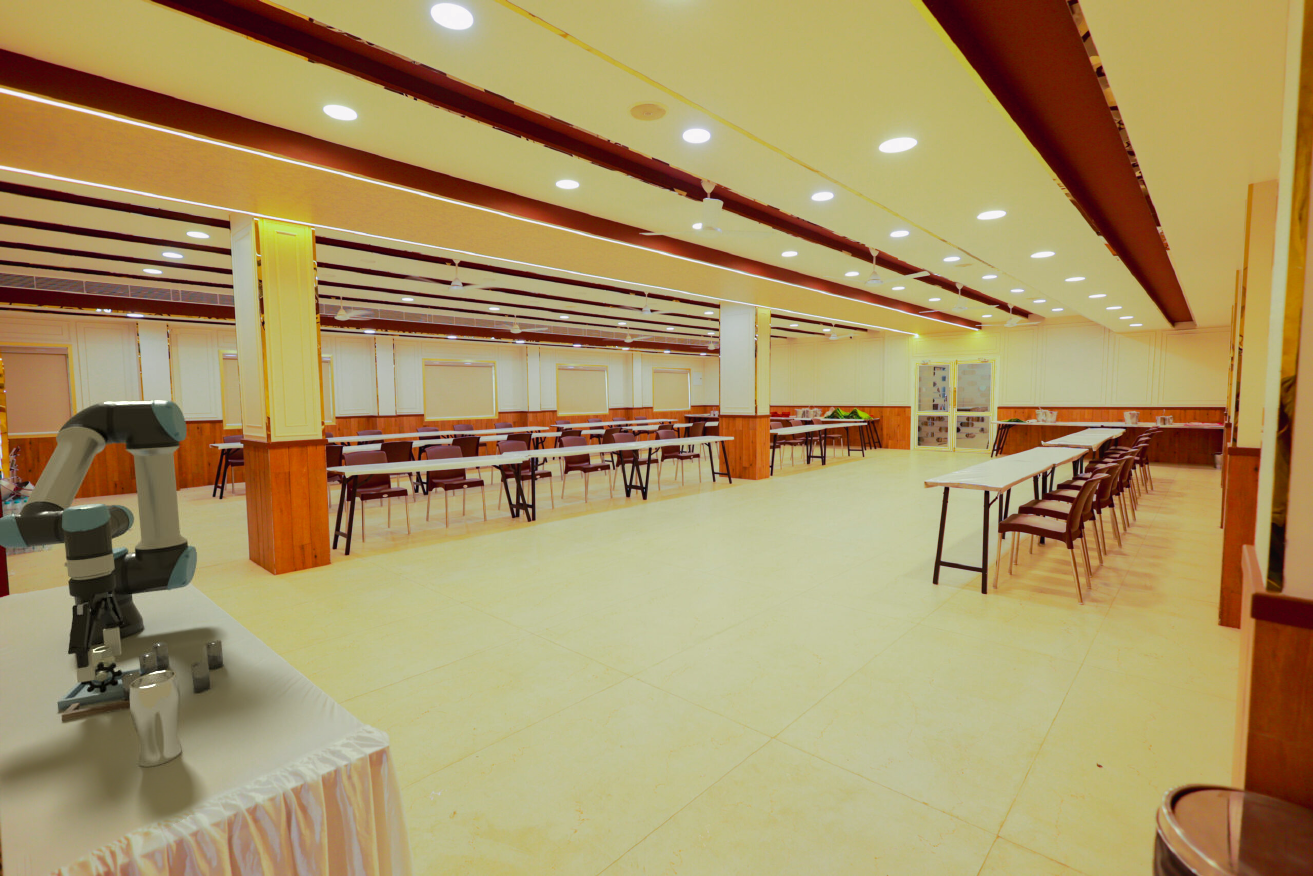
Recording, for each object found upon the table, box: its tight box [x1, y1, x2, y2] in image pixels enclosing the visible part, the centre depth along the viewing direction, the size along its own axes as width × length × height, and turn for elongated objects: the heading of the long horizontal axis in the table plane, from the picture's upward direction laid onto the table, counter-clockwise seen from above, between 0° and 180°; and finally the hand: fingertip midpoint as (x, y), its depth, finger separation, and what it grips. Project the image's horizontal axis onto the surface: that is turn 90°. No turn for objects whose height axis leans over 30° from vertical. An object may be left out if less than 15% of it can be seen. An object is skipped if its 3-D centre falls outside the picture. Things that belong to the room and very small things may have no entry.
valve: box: [81, 645, 123, 693], centre depth 134 cm, size 7×7×12 cm
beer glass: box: [129, 670, 183, 768], centre depth 109 cm, size 7×7×15 cm
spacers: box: [122, 639, 224, 701], centre depth 139 cm, size 20×16×6 cm
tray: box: [57, 667, 141, 711], centre depth 134 cm, size 12×12×2 cm
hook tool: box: [61, 700, 130, 721], centre depth 128 cm, size 5×14×1 cm, turn 114°
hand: (100, 668), depth 133 cm, fingers open, 13 cm apart
